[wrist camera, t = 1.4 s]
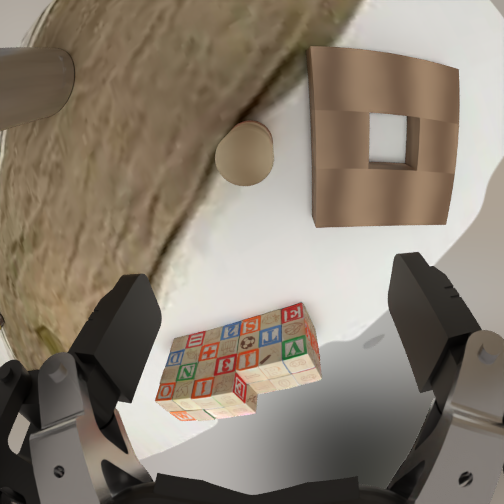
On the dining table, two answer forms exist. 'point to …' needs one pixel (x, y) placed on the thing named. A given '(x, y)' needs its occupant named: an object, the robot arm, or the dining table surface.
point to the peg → (245, 154)
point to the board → (357, 138)
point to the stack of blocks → (239, 365)
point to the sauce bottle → (1, 322)
